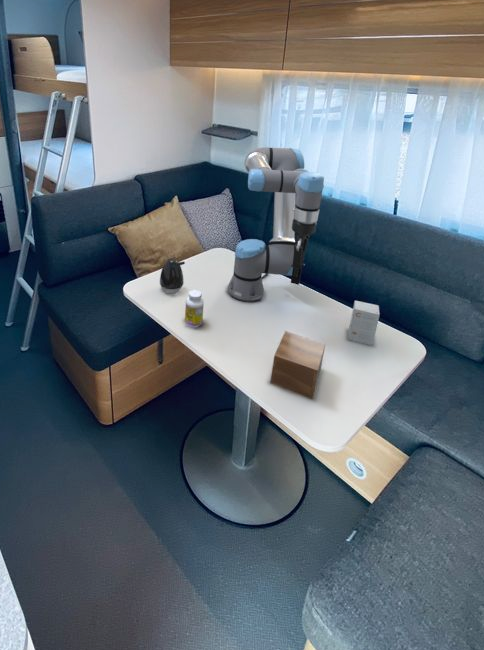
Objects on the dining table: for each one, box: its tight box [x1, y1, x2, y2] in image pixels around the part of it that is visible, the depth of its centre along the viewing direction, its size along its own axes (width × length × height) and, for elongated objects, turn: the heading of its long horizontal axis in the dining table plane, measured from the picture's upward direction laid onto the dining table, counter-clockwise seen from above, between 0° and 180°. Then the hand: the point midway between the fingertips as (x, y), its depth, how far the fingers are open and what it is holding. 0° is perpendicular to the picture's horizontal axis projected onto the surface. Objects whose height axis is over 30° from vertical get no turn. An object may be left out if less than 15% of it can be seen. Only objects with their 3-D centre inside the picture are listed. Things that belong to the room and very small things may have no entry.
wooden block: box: [269, 330, 326, 400], centre depth 127 cm, size 14×13×11 cm
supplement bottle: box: [184, 289, 205, 328], centre depth 152 cm, size 7×7×13 cm
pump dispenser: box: [159, 257, 186, 294], centre depth 173 cm, size 10×10×15 cm
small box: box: [348, 300, 380, 346], centre depth 146 cm, size 8×6×13 cm
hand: (295, 282), depth 142 cm, fingers closed
